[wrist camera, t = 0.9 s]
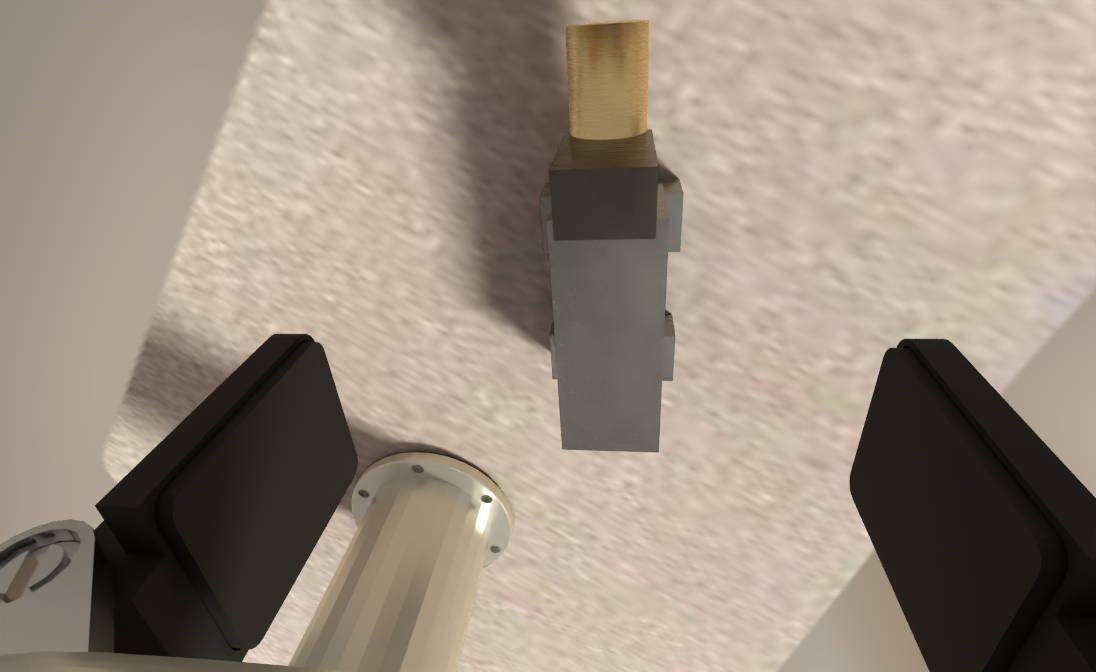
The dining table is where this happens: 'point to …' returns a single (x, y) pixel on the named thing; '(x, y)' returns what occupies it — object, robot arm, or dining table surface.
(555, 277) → the metal sleeve
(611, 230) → the brass rod
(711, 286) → the dining table surface
